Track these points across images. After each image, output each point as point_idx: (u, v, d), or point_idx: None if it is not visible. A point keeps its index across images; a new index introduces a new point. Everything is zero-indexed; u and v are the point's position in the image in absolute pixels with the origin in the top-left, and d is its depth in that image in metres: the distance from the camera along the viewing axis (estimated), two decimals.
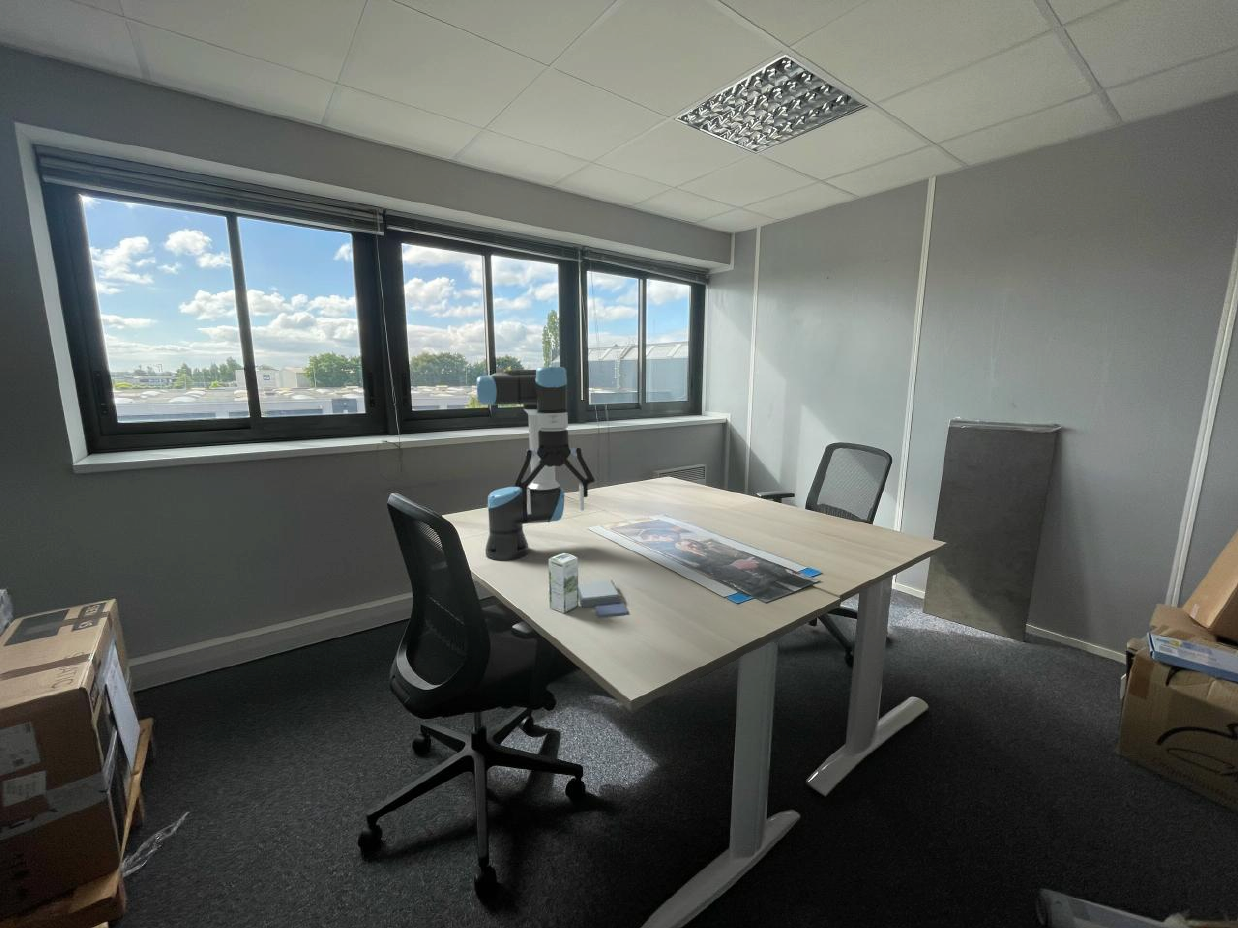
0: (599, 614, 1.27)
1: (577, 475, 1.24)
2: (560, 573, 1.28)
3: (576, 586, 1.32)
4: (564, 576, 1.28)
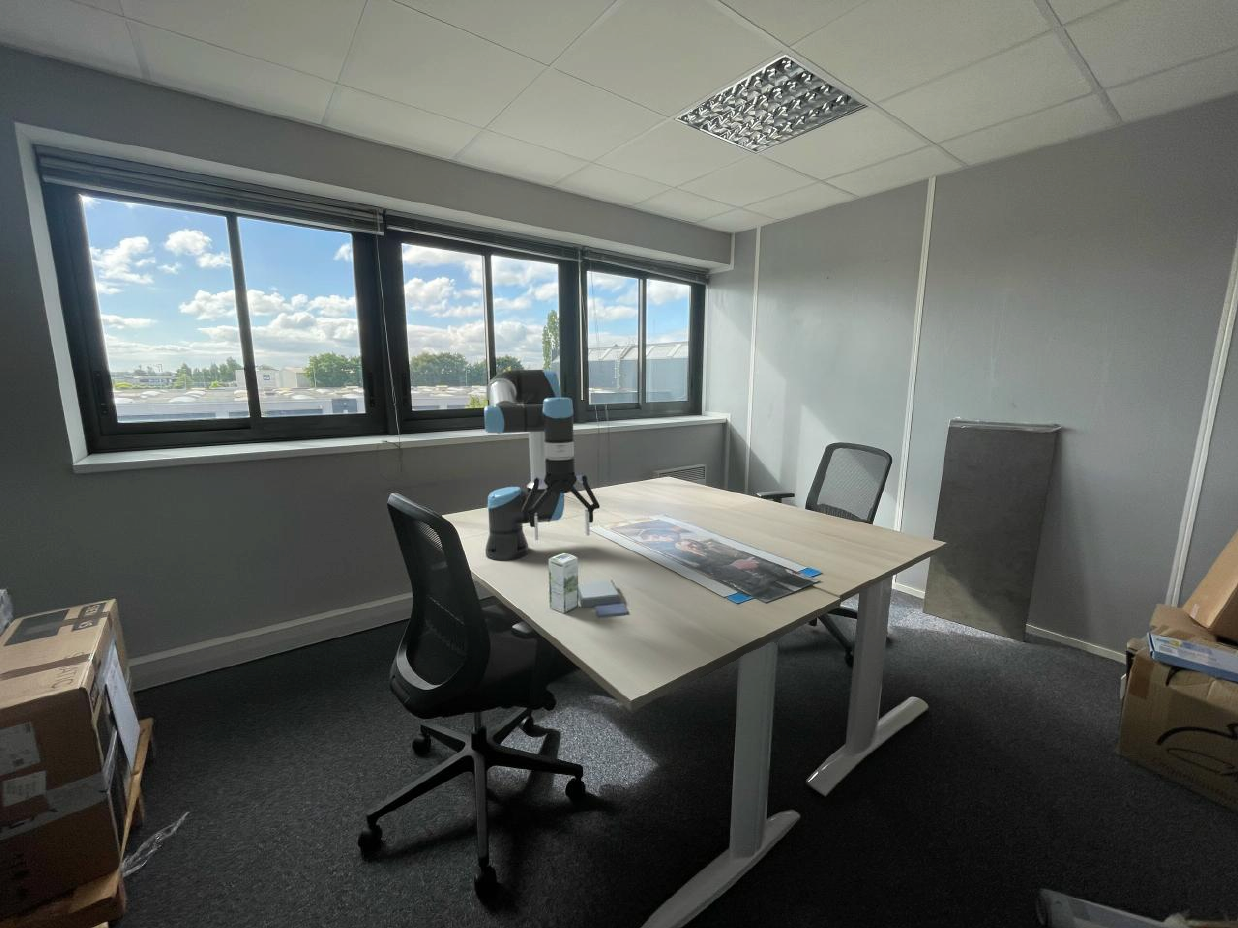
0: (599, 614, 1.27)
1: (583, 502, 1.28)
2: (560, 573, 1.28)
3: (576, 586, 1.32)
4: (564, 576, 1.28)
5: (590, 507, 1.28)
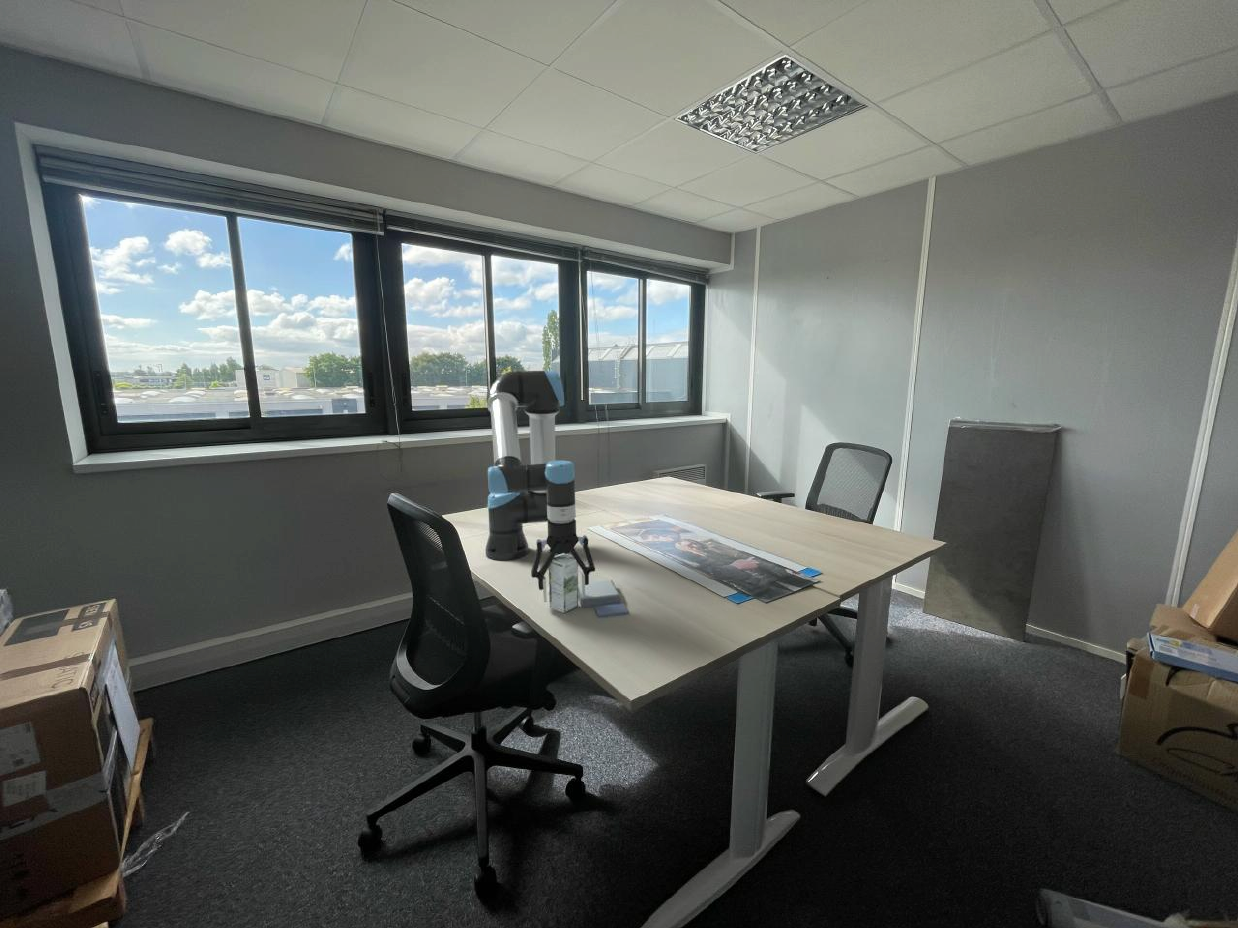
0: (599, 614, 1.27)
1: (580, 564, 1.31)
2: (560, 573, 1.28)
3: (576, 586, 1.32)
4: (564, 576, 1.28)
5: (586, 570, 1.31)
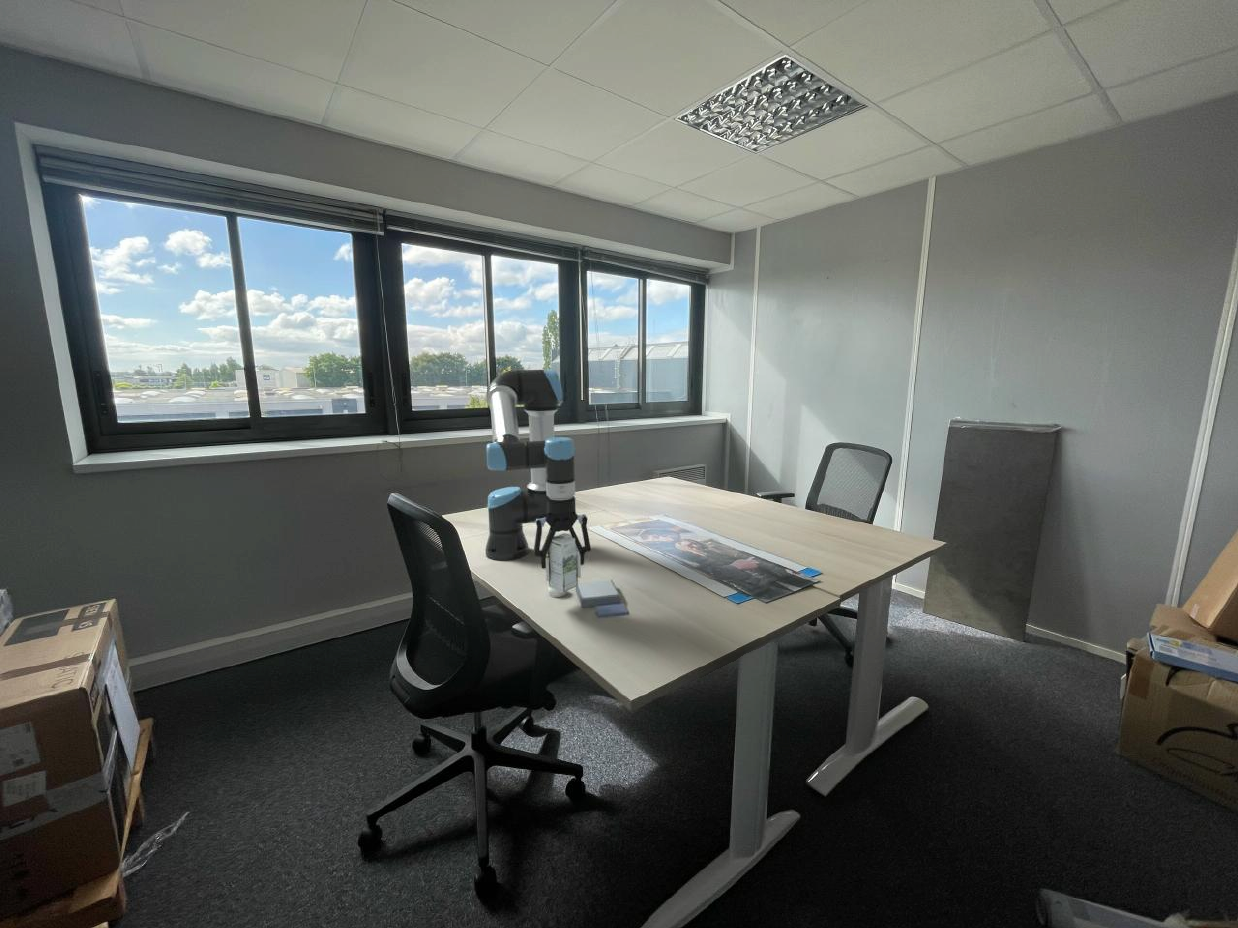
0: (599, 614, 1.27)
1: (577, 543, 1.30)
2: (559, 553, 1.27)
3: (575, 566, 1.31)
4: (563, 555, 1.27)
5: (582, 550, 1.30)
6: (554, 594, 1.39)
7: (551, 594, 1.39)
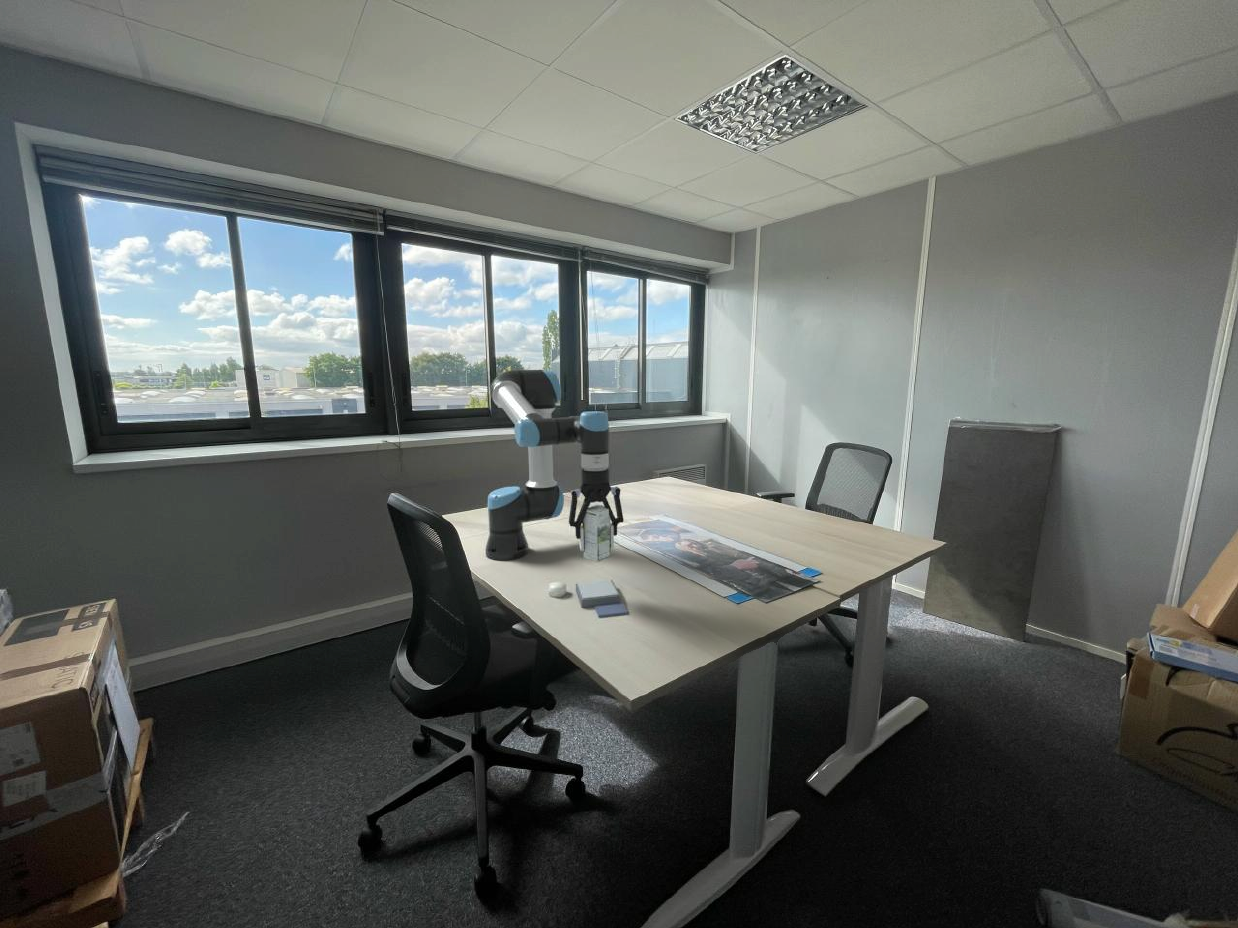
0: (599, 614, 1.27)
1: (610, 514, 1.34)
2: (594, 522, 1.31)
3: (609, 536, 1.35)
4: (598, 525, 1.31)
5: (615, 521, 1.35)
6: (557, 594, 1.39)
7: (554, 594, 1.39)
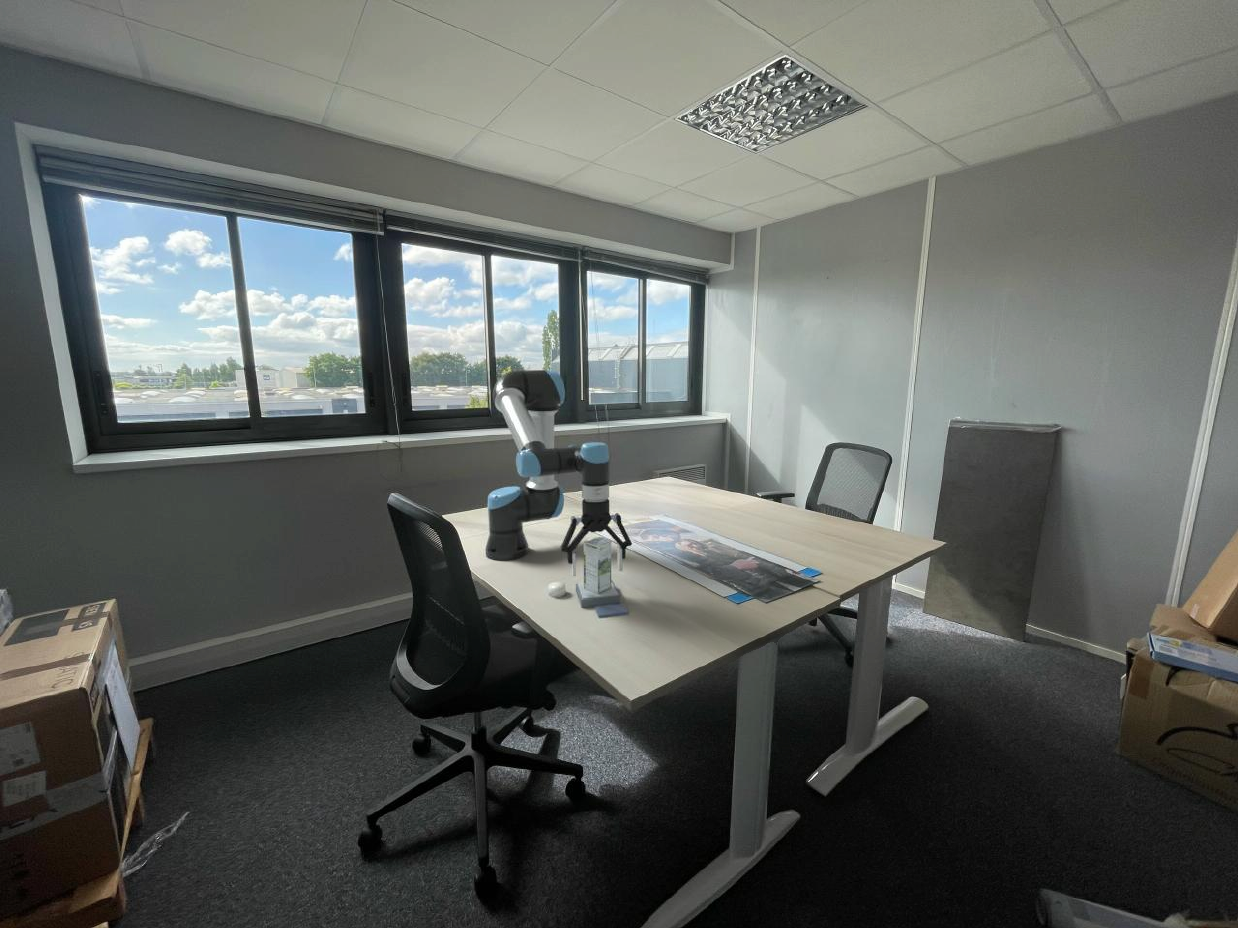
0: (599, 614, 1.27)
1: (616, 539, 1.36)
2: (595, 555, 1.33)
3: (609, 568, 1.37)
4: (599, 558, 1.33)
5: (623, 545, 1.37)
6: (561, 593, 1.39)
7: (558, 595, 1.39)
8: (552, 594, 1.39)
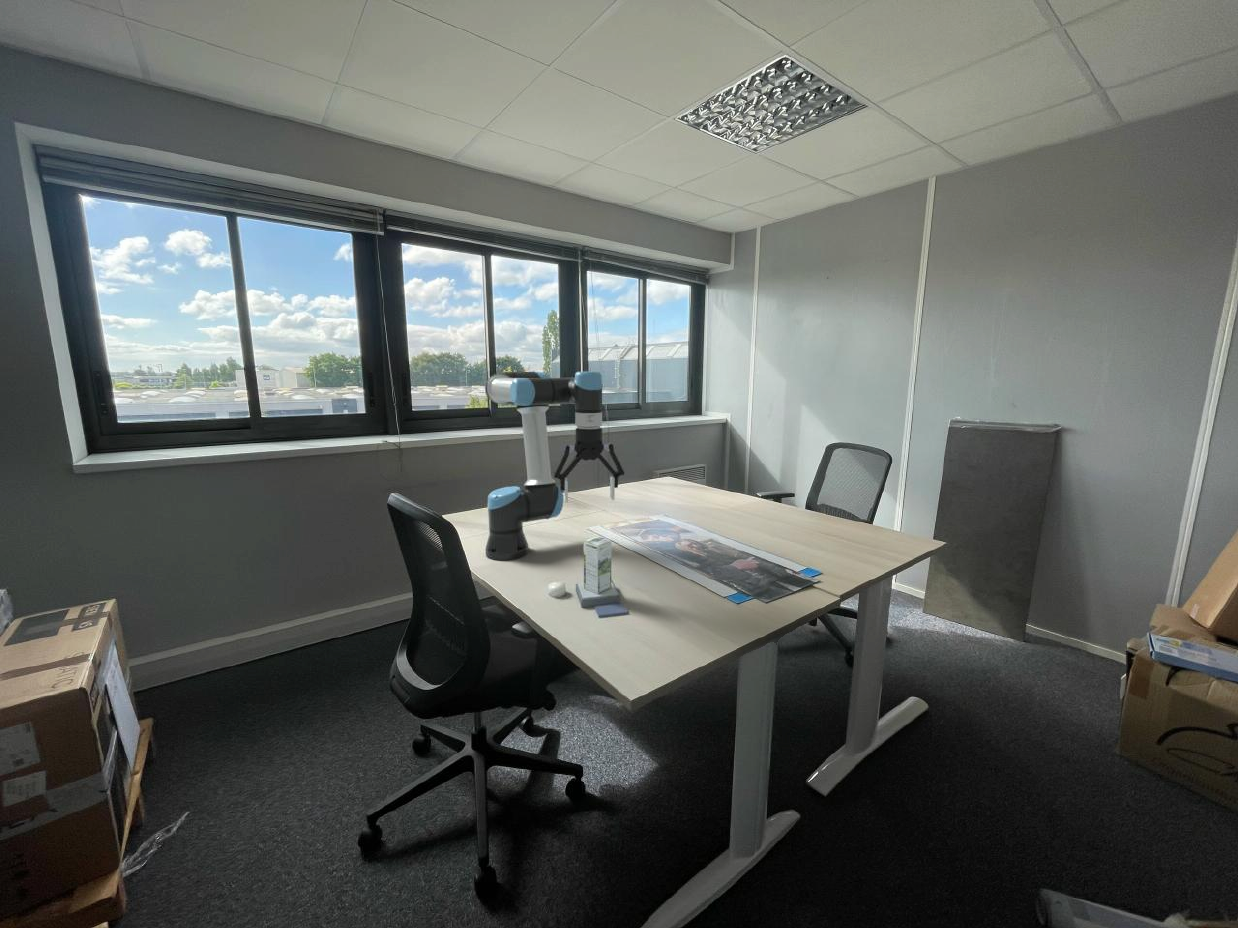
0: (599, 614, 1.27)
1: (609, 468, 1.39)
2: (595, 555, 1.33)
3: (609, 568, 1.37)
4: (599, 558, 1.33)
5: (615, 473, 1.40)
6: (564, 591, 1.40)
7: (562, 593, 1.39)
8: (556, 594, 1.39)
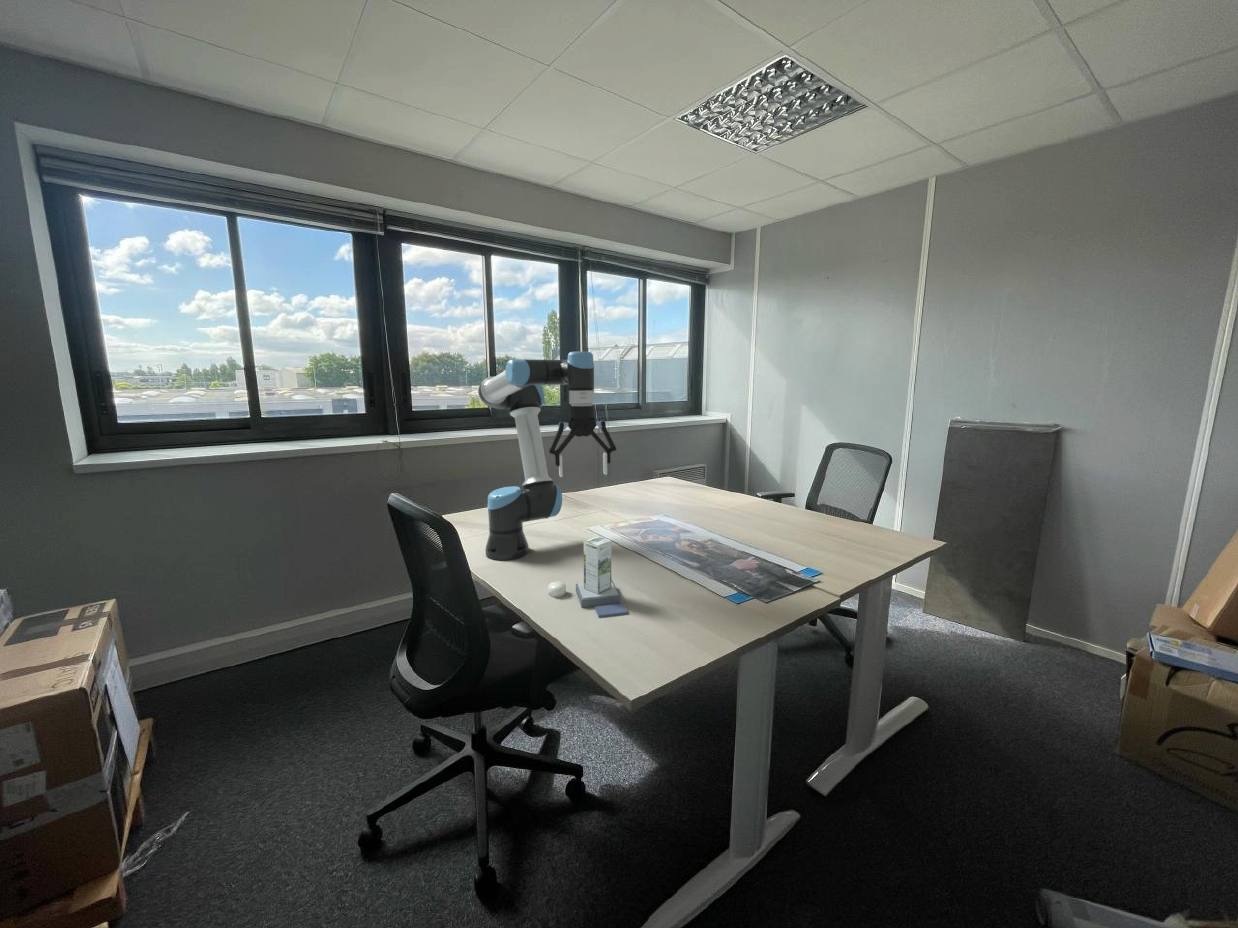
0: (599, 614, 1.27)
1: (602, 444, 1.46)
2: (595, 555, 1.33)
3: (609, 568, 1.37)
4: (599, 558, 1.33)
5: (608, 449, 1.47)
6: (565, 590, 1.41)
7: (565, 592, 1.40)
8: (561, 594, 1.39)
